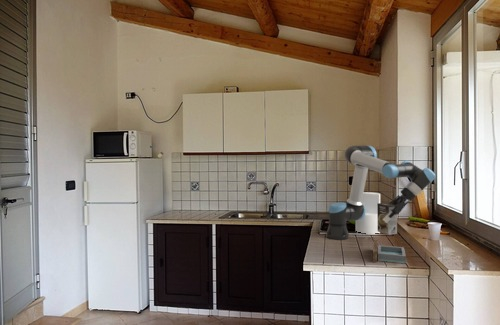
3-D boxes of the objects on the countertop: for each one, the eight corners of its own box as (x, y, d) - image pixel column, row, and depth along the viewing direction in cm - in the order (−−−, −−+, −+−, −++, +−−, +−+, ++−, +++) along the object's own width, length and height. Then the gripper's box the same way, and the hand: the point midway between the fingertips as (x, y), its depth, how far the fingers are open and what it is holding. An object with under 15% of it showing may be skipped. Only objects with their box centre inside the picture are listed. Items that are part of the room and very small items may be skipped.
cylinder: (362, 227, 270) (362, 191, 269) (384, 231, 257) (384, 193, 256) (351, 231, 258) (351, 193, 257) (373, 235, 245) (373, 195, 244)
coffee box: (376, 231, 201) (376, 203, 200) (386, 230, 203) (385, 202, 202) (388, 234, 192) (388, 205, 191) (397, 233, 194) (397, 204, 194)
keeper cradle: (377, 260, 192) (377, 253, 192) (378, 251, 208) (378, 245, 208) (405, 263, 187) (405, 256, 187) (403, 254, 203) (404, 247, 203)
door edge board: (372, 262, 190) (372, 251, 190) (373, 249, 212) (374, 240, 212) (376, 262, 189) (376, 251, 189) (377, 250, 211) (377, 240, 211)
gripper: (423, 199, 183) (392, 228, 186) (408, 193, 206) (381, 219, 209) (412, 189, 184) (382, 218, 186) (399, 184, 207) (372, 210, 209)
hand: (381, 219), depth 197 cm, fingers closed on coffee box, 10 cm apart
